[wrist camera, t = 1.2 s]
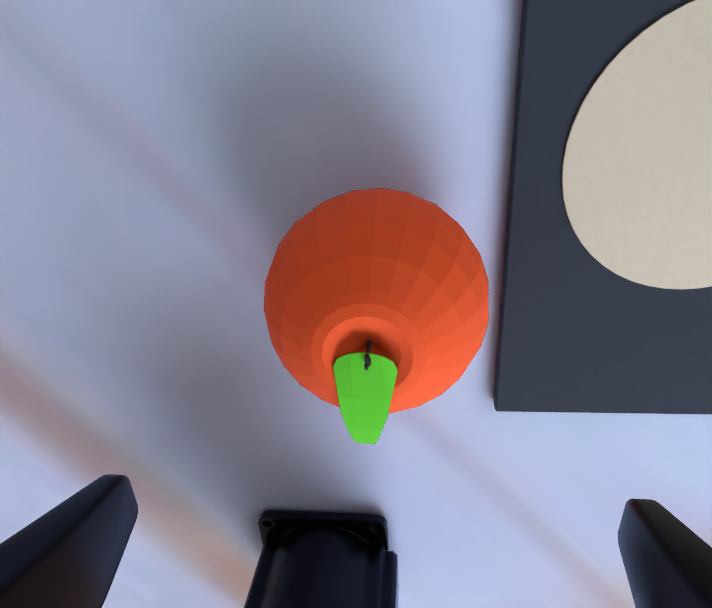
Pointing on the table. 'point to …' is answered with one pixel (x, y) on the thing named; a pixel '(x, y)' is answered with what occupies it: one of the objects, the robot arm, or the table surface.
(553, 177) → the placemat
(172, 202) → the table surface
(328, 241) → the clementine
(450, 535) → the table surface
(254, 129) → the table surface
